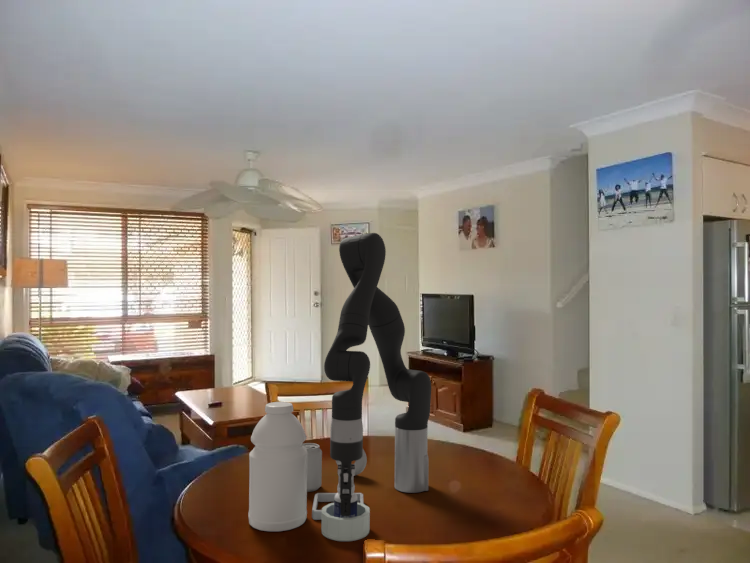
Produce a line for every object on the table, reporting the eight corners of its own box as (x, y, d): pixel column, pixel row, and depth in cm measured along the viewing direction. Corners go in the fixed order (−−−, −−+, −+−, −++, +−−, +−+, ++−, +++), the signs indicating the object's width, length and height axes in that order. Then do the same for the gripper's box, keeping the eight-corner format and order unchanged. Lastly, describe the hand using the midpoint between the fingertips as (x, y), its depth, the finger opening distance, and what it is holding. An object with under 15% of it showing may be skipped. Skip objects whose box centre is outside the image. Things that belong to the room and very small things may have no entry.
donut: (333, 475, 172) (333, 441, 172) (338, 471, 175) (338, 439, 175) (363, 479, 168) (364, 445, 168) (368, 476, 171) (368, 442, 171)
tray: (362, 500, 151) (363, 492, 151) (363, 519, 138) (363, 511, 138) (315, 500, 151) (315, 493, 151) (311, 519, 138) (311, 511, 138)
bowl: (368, 521, 137) (368, 501, 137) (370, 541, 126) (370, 519, 126) (323, 521, 137) (323, 501, 137) (320, 541, 126) (320, 519, 126)
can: (316, 493, 156) (317, 449, 156) (290, 491, 157) (291, 447, 157) (324, 484, 163) (325, 442, 163) (299, 482, 165) (300, 441, 165)
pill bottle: (339, 533, 128) (339, 489, 128) (330, 525, 133) (330, 482, 133) (360, 529, 130) (361, 486, 131) (351, 521, 135) (351, 479, 136)
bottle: (254, 536, 128) (256, 411, 128) (242, 514, 141) (244, 400, 141) (314, 527, 134) (315, 407, 134) (298, 506, 146) (299, 397, 147)
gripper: (363, 445, 125) (362, 521, 125) (362, 429, 139) (361, 498, 139) (329, 445, 125) (328, 521, 124) (331, 429, 139) (330, 498, 139)
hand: (345, 509), depth 132 cm, fingers open, 6 cm apart
